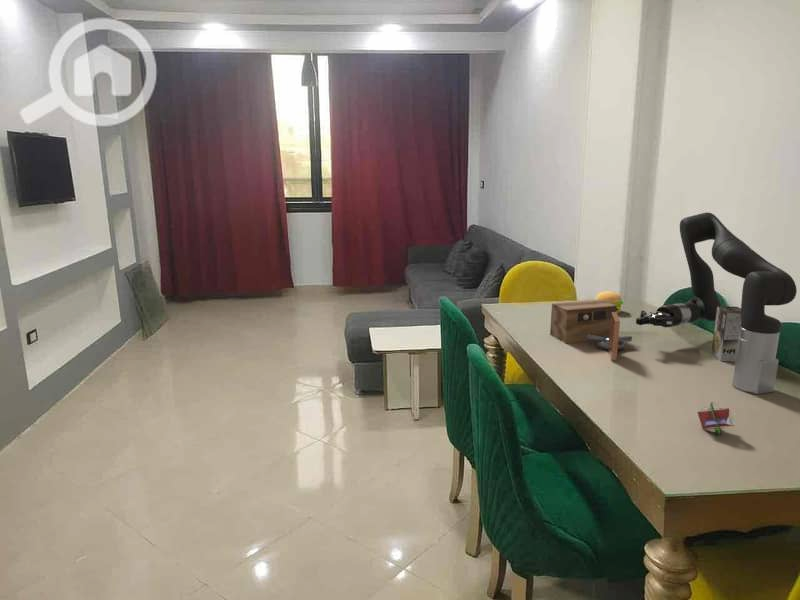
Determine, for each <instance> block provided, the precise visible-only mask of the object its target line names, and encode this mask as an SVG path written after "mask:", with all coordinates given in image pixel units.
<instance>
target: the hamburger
mask: <svg viewBox="0 0 800 600" xmlns="http://www.w3.org/2000/svg"><path fill="white" fill-rule="evenodd" d="M598 299H600V300H602V301H605V302H608V303H610V304H613V305H616V313H617V314H619V313H620V312H621V309H622V305H623V304H624V300H623V299H622V297H621V295H620V294H618V293H617V292H614V291H611V290H606V291H601V292H599V293H598V294H597V295H596V297H595V298H594V299H593V300H598Z"/></svg>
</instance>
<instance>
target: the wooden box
mask: <svg viewBox="0 0 800 600" xmlns="http://www.w3.org/2000/svg"><path fill="white" fill-rule="evenodd" d="M611 312H616V305H613V304H610V303H608V302H605V301H602V300H600V299H598V300H594V299H590V300H589V299H587V300H577V301H576V300H575V301H565V302H563V301H562V302H554V303H553V302H552V303H551V313H550V330H549V335H550V336H551V335H552V337H553V336H554V338H555V337H556V338H555V339H556V340H559V341H561V342H562V341H563V342H562V343H564V344H567V343H579V342H587V341H595V340H594V339H589V338H587V337H588V333H592V334H596V335H601V336H605V337H609V334H610V323H611ZM578 341H579V342H578Z"/></svg>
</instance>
